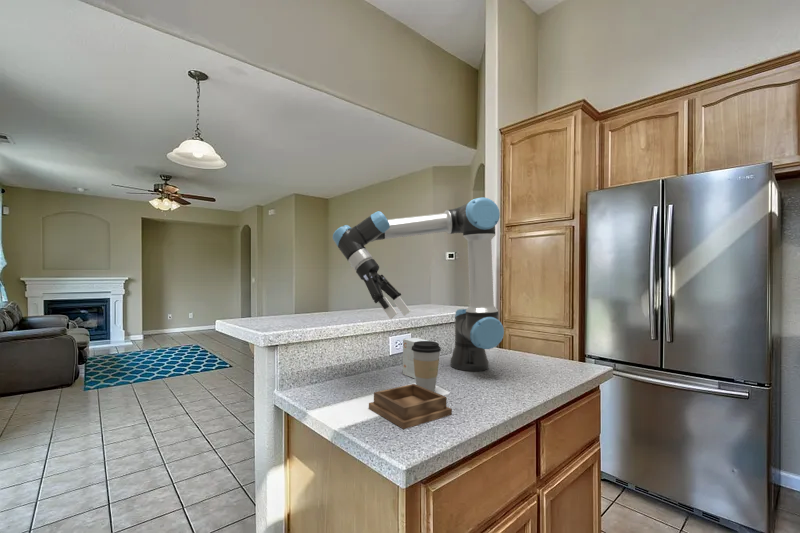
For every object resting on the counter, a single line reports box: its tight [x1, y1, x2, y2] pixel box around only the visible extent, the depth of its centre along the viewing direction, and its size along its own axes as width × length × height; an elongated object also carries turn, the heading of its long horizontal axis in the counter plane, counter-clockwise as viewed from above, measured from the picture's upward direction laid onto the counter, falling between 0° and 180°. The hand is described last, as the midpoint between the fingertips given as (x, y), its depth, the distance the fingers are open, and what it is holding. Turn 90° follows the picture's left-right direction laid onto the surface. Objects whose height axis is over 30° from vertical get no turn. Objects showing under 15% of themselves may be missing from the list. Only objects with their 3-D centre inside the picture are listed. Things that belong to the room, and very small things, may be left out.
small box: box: [402, 337, 429, 380], centre depth 134 cm, size 8×6×13 cm
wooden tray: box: [368, 383, 453, 430], centre depth 99 cm, size 16×16×4 cm
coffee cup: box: [411, 340, 442, 393], centre depth 117 cm, size 9×9×15 cm
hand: (401, 315), depth 120 cm, fingers open, 13 cm apart
